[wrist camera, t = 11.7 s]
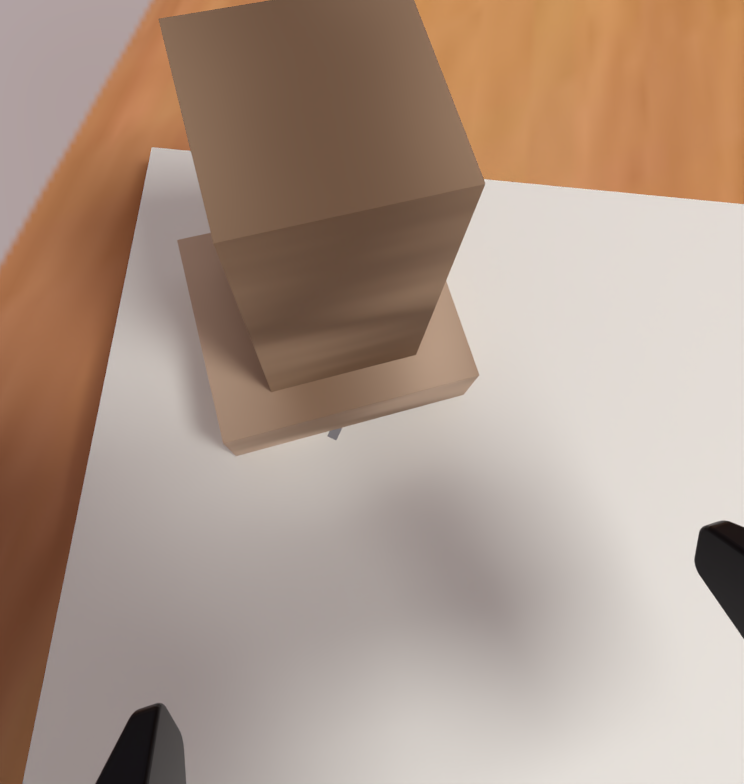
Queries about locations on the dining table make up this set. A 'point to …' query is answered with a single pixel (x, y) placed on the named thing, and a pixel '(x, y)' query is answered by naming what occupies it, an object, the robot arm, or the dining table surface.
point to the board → (427, 526)
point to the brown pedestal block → (322, 214)
